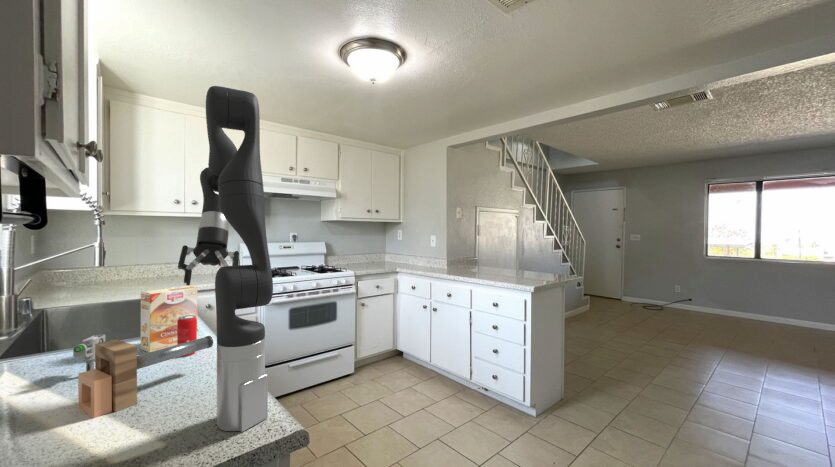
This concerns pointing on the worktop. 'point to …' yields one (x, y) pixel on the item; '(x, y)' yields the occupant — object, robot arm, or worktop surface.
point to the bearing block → (119, 370)
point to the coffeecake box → (164, 315)
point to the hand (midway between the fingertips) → (206, 285)
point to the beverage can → (186, 330)
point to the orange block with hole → (95, 393)
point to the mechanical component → (88, 350)
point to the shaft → (173, 352)
